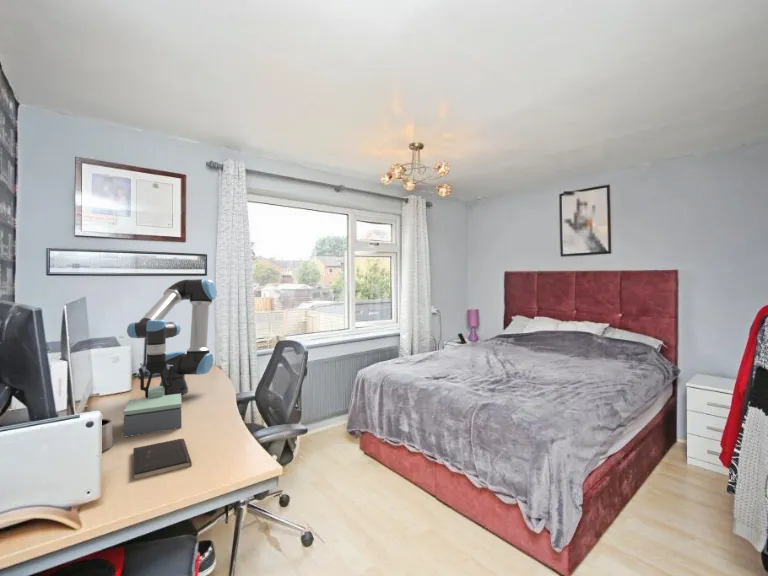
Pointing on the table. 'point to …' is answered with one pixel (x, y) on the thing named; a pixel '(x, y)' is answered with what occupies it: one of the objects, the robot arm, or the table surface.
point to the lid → (153, 402)
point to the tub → (152, 422)
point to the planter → (106, 434)
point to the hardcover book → (160, 458)
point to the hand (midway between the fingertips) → (156, 403)
